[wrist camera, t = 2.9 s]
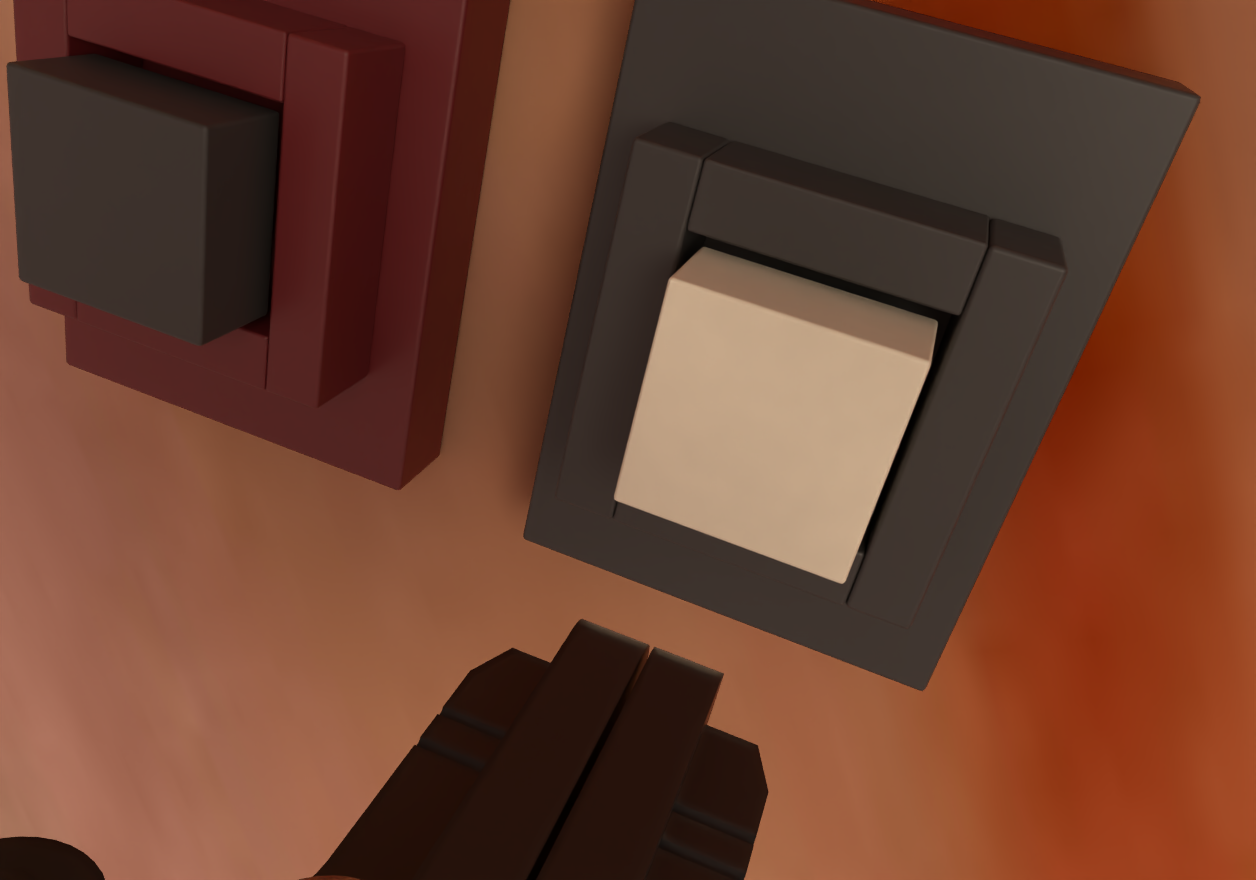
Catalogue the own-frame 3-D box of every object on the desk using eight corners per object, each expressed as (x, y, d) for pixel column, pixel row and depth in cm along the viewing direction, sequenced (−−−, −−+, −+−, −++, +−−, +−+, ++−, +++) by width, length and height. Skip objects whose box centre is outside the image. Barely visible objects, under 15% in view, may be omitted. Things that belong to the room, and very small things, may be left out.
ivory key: (702, 244, 17) (667, 276, 16) (939, 319, 17) (932, 362, 15) (647, 450, 19) (611, 500, 17) (858, 526, 18) (843, 587, 17)
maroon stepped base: (120, -199, 21) (-53, -231, 18) (526, -91, 20) (423, -103, 16) (125, 338, 27) (-6, 394, 23) (440, 456, 25) (351, 535, 22)
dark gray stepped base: (676, -52, 19) (604, -54, 16) (1183, 83, 17) (1229, 112, 14) (554, 498, 25) (481, 587, 21) (930, 639, 23) (917, 758, 20)
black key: (94, 51, 19) (3, 60, 18) (281, 111, 19) (206, 127, 17) (99, 254, 21) (17, 281, 20) (269, 315, 21) (200, 348, 19)
